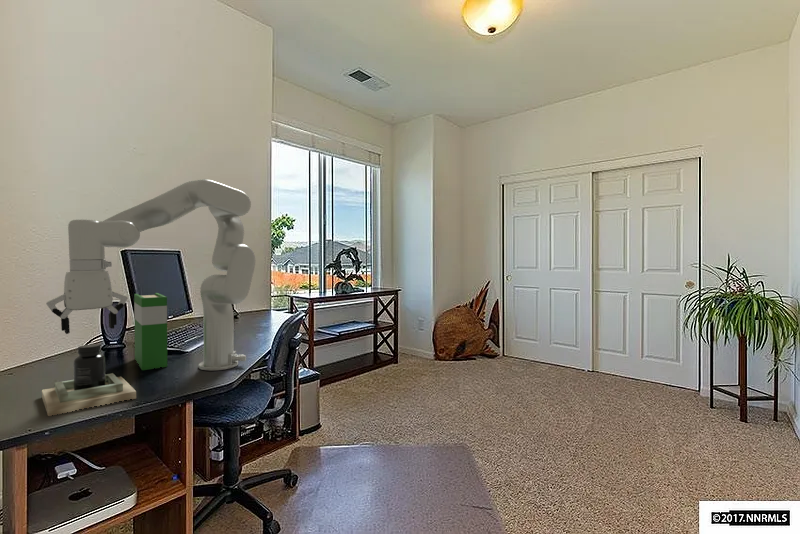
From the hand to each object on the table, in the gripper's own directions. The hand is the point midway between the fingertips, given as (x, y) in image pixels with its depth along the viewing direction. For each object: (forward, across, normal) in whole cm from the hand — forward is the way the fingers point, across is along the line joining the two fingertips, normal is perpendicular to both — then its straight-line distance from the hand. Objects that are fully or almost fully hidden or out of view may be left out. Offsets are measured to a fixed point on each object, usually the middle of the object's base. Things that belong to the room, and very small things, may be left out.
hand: (90, 330), depth 111 cm
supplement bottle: (+16, 0, 0) cm, 16 cm away
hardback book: (+19, -21, -29) cm, 40 cm away
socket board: (+18, +1, 0) cm, 18 cm away
